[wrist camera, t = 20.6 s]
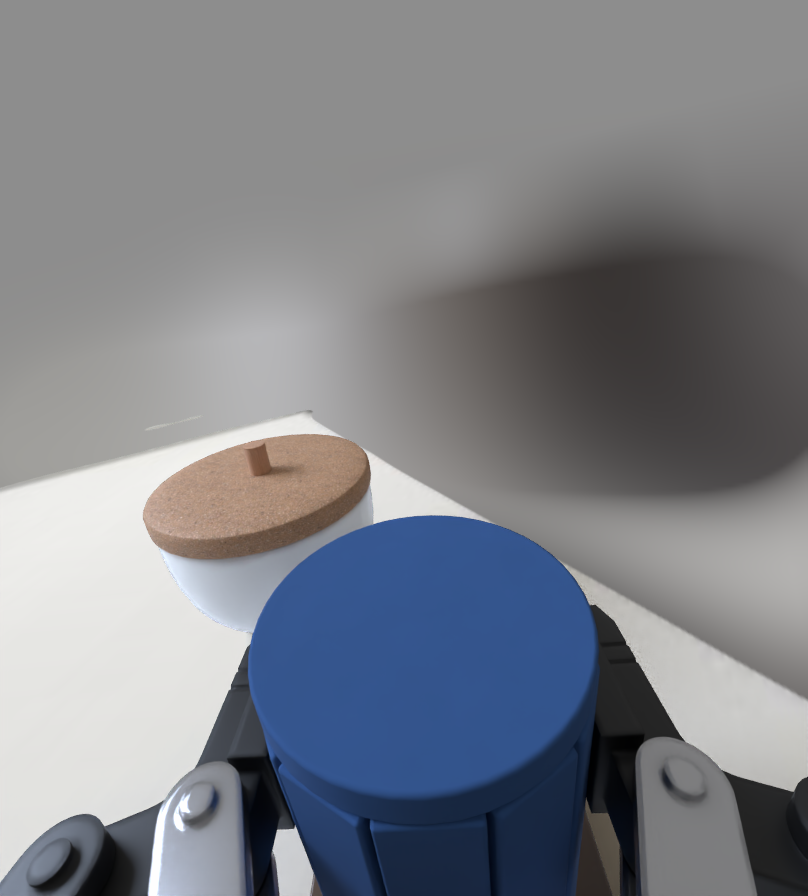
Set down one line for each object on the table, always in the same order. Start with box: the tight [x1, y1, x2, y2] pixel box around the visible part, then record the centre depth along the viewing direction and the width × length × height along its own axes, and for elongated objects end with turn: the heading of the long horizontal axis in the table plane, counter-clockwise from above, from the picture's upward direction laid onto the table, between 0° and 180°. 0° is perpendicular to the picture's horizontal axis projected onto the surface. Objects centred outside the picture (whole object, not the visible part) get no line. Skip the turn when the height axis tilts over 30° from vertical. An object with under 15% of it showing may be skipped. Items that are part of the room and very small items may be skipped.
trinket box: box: [143, 434, 373, 633], centre depth 22 cm, size 11×11×9 cm
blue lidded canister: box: [248, 515, 600, 896], centre depth 9 cm, size 6×6×9 cm
